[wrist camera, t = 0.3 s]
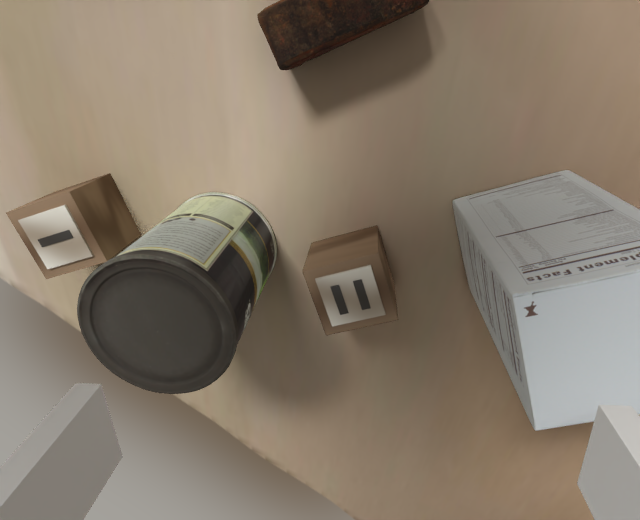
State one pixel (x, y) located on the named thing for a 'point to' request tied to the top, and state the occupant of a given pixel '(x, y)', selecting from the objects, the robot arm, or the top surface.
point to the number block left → (75, 226)
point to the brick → (325, 25)
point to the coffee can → (179, 295)
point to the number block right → (351, 281)
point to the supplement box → (558, 292)
